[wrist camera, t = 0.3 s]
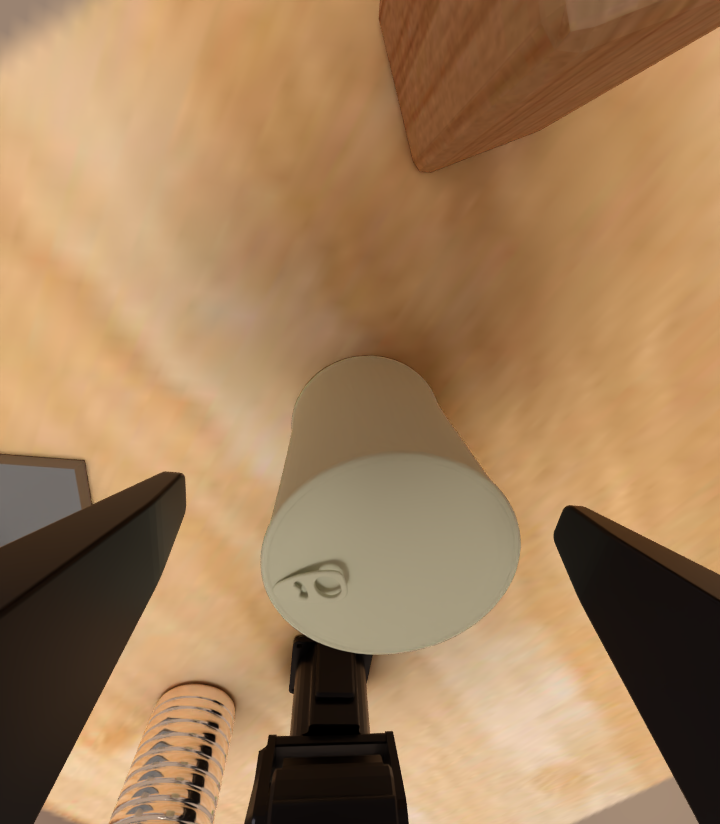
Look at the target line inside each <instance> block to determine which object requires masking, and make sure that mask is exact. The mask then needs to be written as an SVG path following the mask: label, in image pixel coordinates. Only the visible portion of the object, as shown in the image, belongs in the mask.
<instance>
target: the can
mask: <svg viewBox="0 0 720 824" xmlns="http://www.w3.org/2000/svg"><path fill="white" fill-rule="evenodd" d="M291 428H292V433H291V438H290V443H289V447H288V452H287V456H286V460H285V465H284V469H283V473H282V477H281V481H280V486H279V490H278V494H277V498H276V502H275V506H274V510H273V514H272V517H271V521H270V524H269V526H268V528H267V531H266V534H265V536H264V540H263V544H262V550H261V574H262V579H263V583H264V586H265V589H266V592H267V594H268V596H269V598H270V600H271V602H272V604H273V605H274V607H275V608H276V609H277V611H278V612H279V613H280V614H281V616H282V617H283V618H284V619H285V620H286V621H287V622H288V623H289V624H290V625H291V626H292V627H294V628H295V629H296V630H298V631H299V632H301V633H302V634H304V635H305V636H307V637H309V638H311V639H312V640H314V641H316V642H319V643H321V644H323V645H326V646H329V647H332V648H335V649H338V650H343V651H347V652H353V653H360V654H372V655H380V654H397V653H405V652H411V651H415V650H419V649H423V648H427V647H430V646H433V645H436V644H439V643H441V642H444V641H446V640H449V639H451V638H453V637H455V636H457V635H458V634H460V633H462V632H463V631H465V630H467V629H468V628H470V627H471V626H473V625H474V624H475V623H477V622H478V621H479V620H481V619H482V618H483V617H484V616H485V615H486V614H487V613H488V612H489V611H490V610H491V609H492V608H493V607H494V606H495V605H496V604H497V603H498V602H499V600H500V599H501V598H502V596H503V595H504V594H505V592H506V590H507V589H508V587H509V585H510V583H511V582H512V579H513V577H514V575H515V572H516V569H517V565H518V561H519V556H520V547H521V540H520V531H519V526H518V522H517V519H516V516H515V513H514V511H513V509H512V507H511V505H510V503H509V501H508V500H507V498H506V497H505V495H504V494H503V493H502V492H501V490H500V489H499V488H498V487H497V486H496V485H495V484H494V483H493V482H492V481H491V480H490V479H489V477H488V476H487V474H486V473H485V472H484V470H483V469H482V467H481V466H480V465H479V463H478V462H477V460H476V459H475V458H474V456H473V455H472V453H471V452H470V450H469V449H468V448H467V446H466V445H465V443H464V442H463V440H462V439H461V438H460V436H459V435H458V433H457V432H456V430H455V429H454V427H453V426H452V425H451V423H450V422H449V420H448V419H447V417H446V416H445V414H444V413H443V411H442V410H441V408H440V407H439V405H438V403H437V400H436V398H435V395H434V393H433V391H432V389H431V388H430V386H429V385H428V384H427V382H426V381H425V380H424V379H423V378H422V377H421V376H420V375H419V374H418V373H417V372H416V371H414V370H413V369H411V368H410V367H408V366H407V365H405V364H403V363H401V362H398V361H396V360H393V359H389V358H386V357H380V356H357V357H351V358H347V359H344V360H341V361H338V362H336V363H333V364H332V365H330V366H328V367H326V368H325V369H323V370H322V371H320V372H319V373H318V374H316V375H315V376H314V377H313V378H312V379H311V380H310V381H309V382H308V383H307V385H306V386H305V387H304V389H303V390H302V392H301V393H300V395H299V397H298V399H297V401H296V404H295V407H294V410H293V415H292V427H291Z"/></svg>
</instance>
